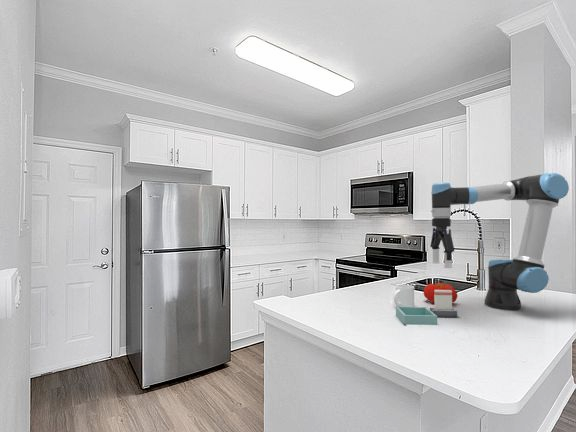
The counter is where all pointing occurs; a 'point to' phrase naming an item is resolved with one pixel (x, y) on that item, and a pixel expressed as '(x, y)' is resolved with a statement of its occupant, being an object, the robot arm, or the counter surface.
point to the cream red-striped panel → (442, 299)
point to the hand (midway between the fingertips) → (441, 265)
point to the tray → (416, 315)
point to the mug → (404, 296)
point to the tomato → (439, 286)
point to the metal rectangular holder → (445, 313)
